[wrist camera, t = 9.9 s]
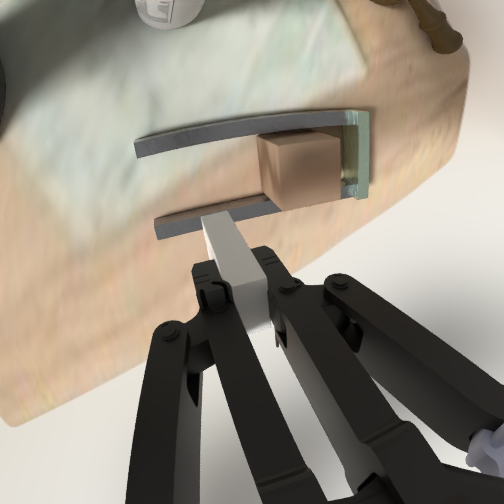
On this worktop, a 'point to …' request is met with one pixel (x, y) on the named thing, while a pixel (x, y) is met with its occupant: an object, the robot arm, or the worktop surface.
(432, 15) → the kendama
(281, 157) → the chute block
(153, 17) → the energy drink can
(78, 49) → the worktop surface
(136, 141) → the chute
